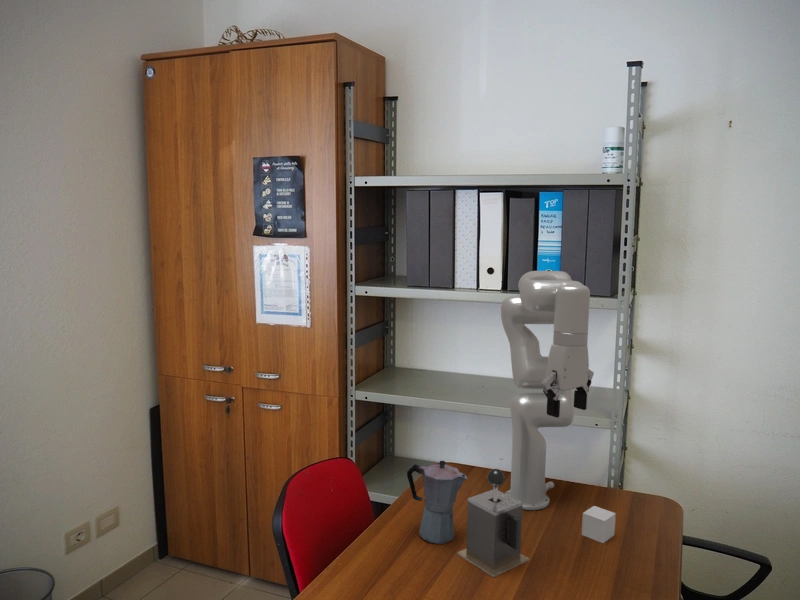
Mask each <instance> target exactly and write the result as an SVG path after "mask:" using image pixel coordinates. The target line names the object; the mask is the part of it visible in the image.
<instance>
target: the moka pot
mask: <svg viewBox="0 0 800 600" xmlns="http://www.w3.org/2000/svg"><path fill="white" fill-rule="evenodd" d="M414 472H416V473H417V474H419V475H422V476H423V494H424V507H423V508H424V509H423V510H422V511H423V512H422V517H421V521H420V525H419V531H418V532H419V533H418V534H419V536H420V537H421V538H422V539H423V540H425V541H427V542H428V543H431V544H439V545H442V544H447V543H450V542H451V541H453V539H454V537H455V529H454V528H455V527H454V511H453V510H454V504H455V502H456V499H457V495H458V492H459V490H460V489H461V487H462V486H463V483H465V481H466V480H468V477H467V475H466V474H465V473H463V472H460V470H459V469H458V468H457V467H454V466H451V465H448V464H446V461H445V460H440V461H439V464H438V463H437V464H436V463H435V464H430V465H428V466H425V465H418V464H413V465H412V466H411V467H410V468H409V469H408V470H407V471H406V476H407V481H408V483H409V487H410V489H411V490H410V491H411V494H412V495H411V496H412V499H413V500H416V501H418V502H422V501H423V497H422V496H418V494H417V491H416V486H415V482H414V478H413V475H412V474H413V473H414Z"/></svg>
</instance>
